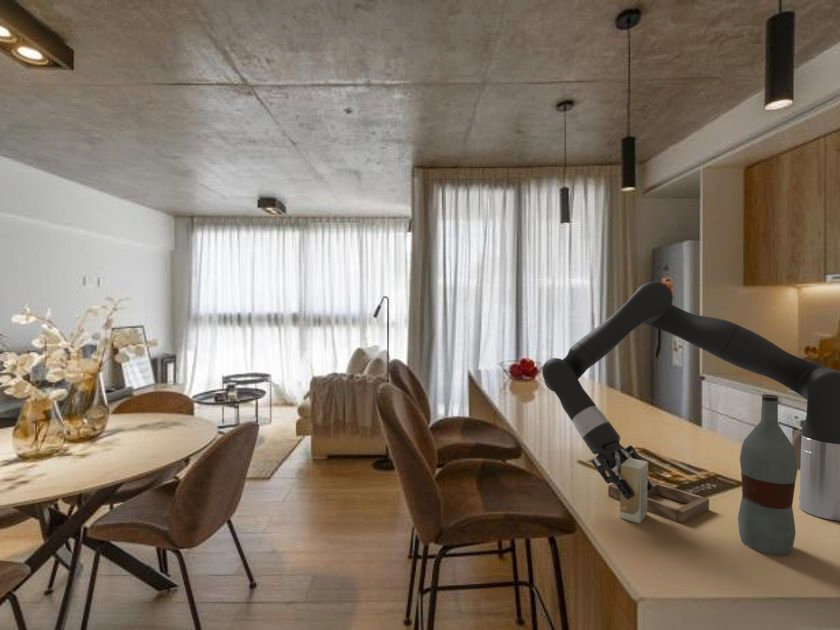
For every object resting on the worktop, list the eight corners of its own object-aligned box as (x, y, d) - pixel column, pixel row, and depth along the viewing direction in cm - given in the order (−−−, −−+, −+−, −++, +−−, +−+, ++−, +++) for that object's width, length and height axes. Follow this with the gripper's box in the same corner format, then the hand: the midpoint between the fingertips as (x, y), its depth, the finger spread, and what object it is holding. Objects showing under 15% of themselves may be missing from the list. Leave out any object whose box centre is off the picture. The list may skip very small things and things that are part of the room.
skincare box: (627, 509, 111) (628, 456, 111) (647, 514, 109) (649, 461, 108) (618, 518, 106) (620, 464, 106) (639, 524, 104) (641, 468, 103)
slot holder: (708, 509, 112) (709, 498, 112) (682, 523, 104) (682, 512, 104) (635, 484, 126) (635, 475, 126) (608, 495, 119) (608, 485, 119)
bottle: (796, 544, 96) (802, 395, 95) (792, 562, 89) (798, 402, 88) (740, 529, 102) (745, 389, 101) (733, 545, 95) (737, 395, 94)
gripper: (587, 425, 109) (634, 493, 100) (622, 417, 117) (669, 479, 108) (567, 442, 113) (610, 509, 104) (602, 433, 122) (646, 494, 112)
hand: (640, 493), depth 106 cm, fingers closed on skincare box, 7 cm apart
